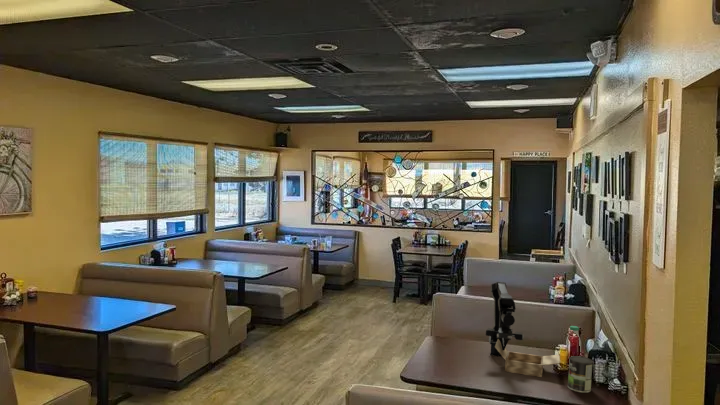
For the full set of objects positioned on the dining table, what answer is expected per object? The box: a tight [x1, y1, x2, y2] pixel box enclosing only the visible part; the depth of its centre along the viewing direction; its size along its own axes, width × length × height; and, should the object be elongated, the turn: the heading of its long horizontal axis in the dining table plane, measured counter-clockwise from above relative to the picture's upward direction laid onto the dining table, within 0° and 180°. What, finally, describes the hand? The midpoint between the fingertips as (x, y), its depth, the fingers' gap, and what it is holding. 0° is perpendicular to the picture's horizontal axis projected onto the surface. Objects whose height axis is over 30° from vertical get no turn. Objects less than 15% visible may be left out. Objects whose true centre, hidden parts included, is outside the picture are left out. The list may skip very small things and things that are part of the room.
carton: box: [504, 350, 544, 378], centre depth 277 cm, size 18×16×6 cm
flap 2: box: [542, 354, 561, 366], centre depth 272 cm, size 8×15×1 cm, turn 160°
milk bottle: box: [565, 325, 582, 353], centre depth 291 cm, size 8×8×20 cm
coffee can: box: [567, 356, 594, 394], centre depth 252 cm, size 10×10×14 cm
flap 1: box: [495, 339, 509, 360], centre depth 280 cm, size 8×15×1 cm
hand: (503, 350), depth 280 cm, fingers closed
